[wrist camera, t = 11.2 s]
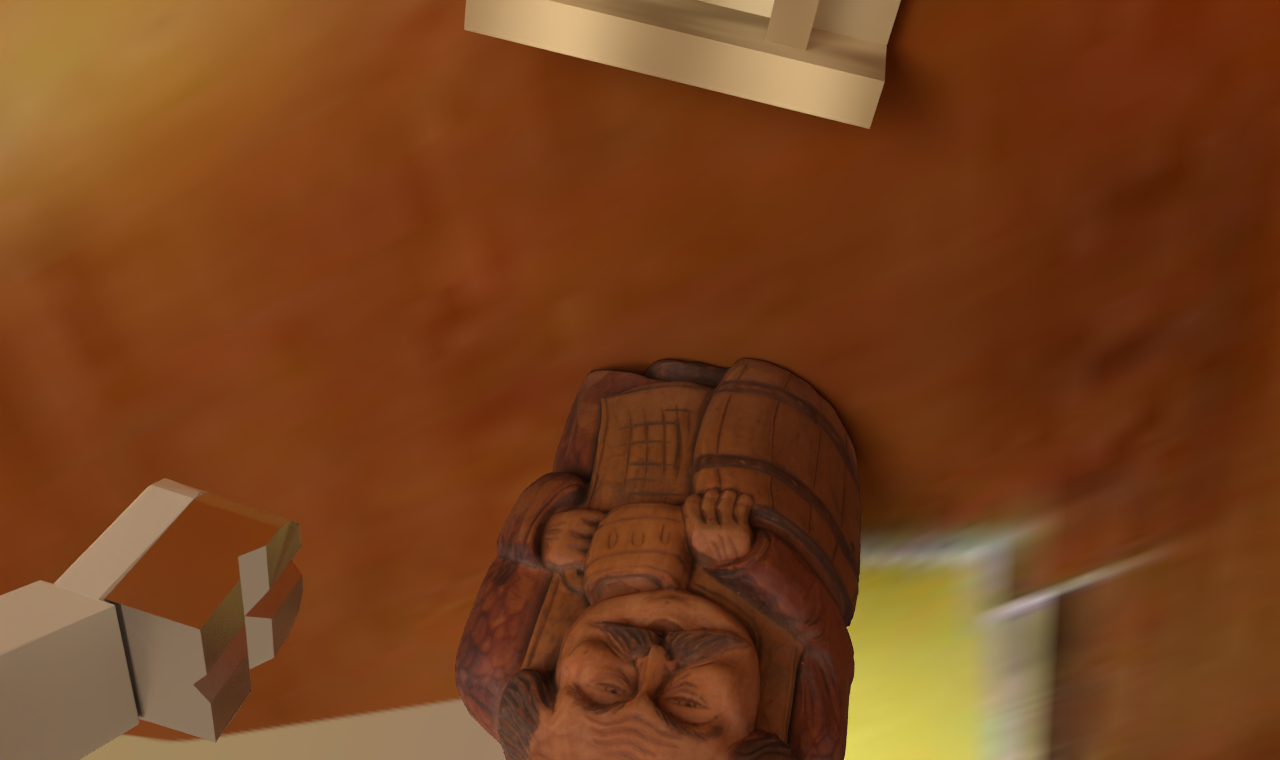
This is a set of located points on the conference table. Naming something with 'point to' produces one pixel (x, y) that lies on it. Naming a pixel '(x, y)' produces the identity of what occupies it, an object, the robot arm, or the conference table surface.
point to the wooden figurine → (676, 577)
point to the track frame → (719, 44)
